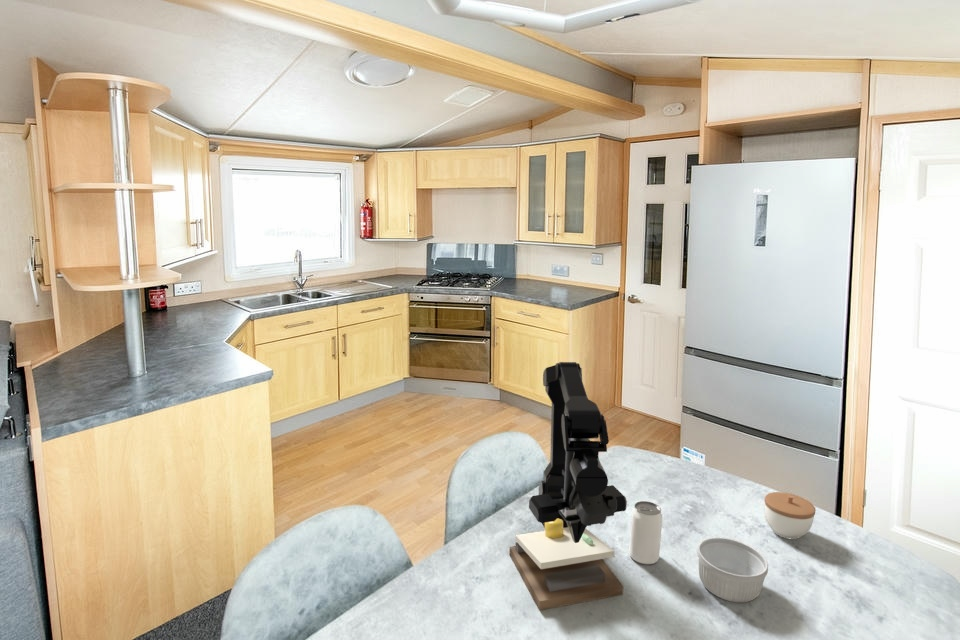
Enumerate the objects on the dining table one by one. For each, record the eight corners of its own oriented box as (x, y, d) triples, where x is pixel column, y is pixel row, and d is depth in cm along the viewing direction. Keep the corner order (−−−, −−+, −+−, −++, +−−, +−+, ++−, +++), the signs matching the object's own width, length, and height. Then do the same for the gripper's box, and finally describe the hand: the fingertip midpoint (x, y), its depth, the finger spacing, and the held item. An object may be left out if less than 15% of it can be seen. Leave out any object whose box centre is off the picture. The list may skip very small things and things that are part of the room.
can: (660, 567, 121) (664, 517, 119) (629, 563, 122) (633, 513, 120) (657, 549, 127) (661, 501, 125) (627, 546, 128) (631, 498, 126)
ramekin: (759, 573, 120) (763, 544, 118) (769, 615, 108) (773, 583, 106) (694, 560, 124) (696, 531, 123) (695, 598, 112) (699, 567, 110)
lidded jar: (798, 521, 140) (803, 487, 138) (819, 546, 129) (825, 510, 128) (754, 518, 141) (758, 484, 139) (771, 543, 130) (776, 507, 129)
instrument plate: (515, 540, 123) (514, 521, 123) (581, 530, 127) (581, 512, 127) (540, 569, 109) (540, 547, 109) (614, 556, 113) (613, 536, 113)
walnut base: (509, 554, 125) (509, 539, 124) (582, 543, 129) (583, 528, 129) (539, 610, 108) (539, 593, 107) (622, 594, 112) (623, 578, 112)
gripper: (551, 496, 98) (547, 574, 102) (644, 484, 103) (638, 558, 107) (529, 468, 109) (526, 539, 112) (615, 457, 114) (610, 526, 117)
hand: (575, 541), depth 112 cm, fingers closed
